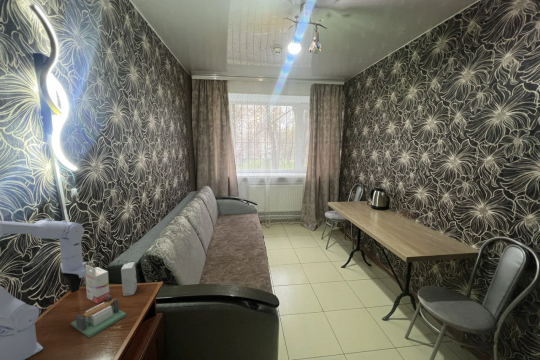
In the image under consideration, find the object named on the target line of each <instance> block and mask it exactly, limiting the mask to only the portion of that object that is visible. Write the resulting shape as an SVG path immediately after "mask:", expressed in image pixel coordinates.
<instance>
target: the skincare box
mask: <svg viewBox="0 0 540 360" xmlns="http://www.w3.org/2000/svg"><path fill="white" fill-rule="evenodd" d="M120 274H121V286H122V297H125V296H127V297H128V296H133V295H135V293H136V291H137V288H138V283H137V282H138V281H137V271H136V262H135V261H133V262H125V263H124V264H122V267H121V269H120Z"/></svg>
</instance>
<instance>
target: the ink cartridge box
mask: <svg viewBox="0 0 540 360" xmlns="http://www.w3.org/2000/svg"><path fill="white" fill-rule="evenodd" d="M84 268H85V270H86V273H87V276H84V277H85V287H86V288H85V289H86V298H87V299H88V300H90V301H92V302H94V303H95V304H97V305H99V304H101V302H102V303H103V302H105V301H107V296H109V295H111V294H110V283H109V271H108V270H105V269H103V268H100V267H98V266H96V267H92V266H90V265H88V264H87V265H84Z"/></svg>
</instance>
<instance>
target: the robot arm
mask: <svg viewBox="0 0 540 360" xmlns="http://www.w3.org/2000/svg"><path fill="white" fill-rule="evenodd" d="M84 233H85V228H84V227H83V225H82V224H80V223H79V222H72V221H67V220H66V219H65V220H61V221H59V220H53V219H52V218H44V219H39V220H38V221H36V222H34V223H29V222H20V221H19V222H17V221H9V220H8V221H6V220H0V236H2V235H3V234H4V235H11V234H13V235H14V234H17V235H22V234H23V235H26V234H27V235H30V234H31V236H32V237H34V238H35V239H54V240H55V239H59V248H60V260H61V262H60V263H59V267H60V269H61V273H62V274H61V277H62V278H63V279H64V281H65V283H66V284H67V287H68V289H69V291H70V293H76V292H77V291H79V290H80V287H81V282H82V279H83V278H84V277H85V276H87V273H86V270H85V265H88V263H87V262H86V261H84V259H83V253H82V252H83V250H82V240H83V237H82V236H84ZM39 315H40V309H39V308H38V307H37V306H35V305H29V304H27V302H25V301H22V300H20V299H18V298H16V297H14V295H12V294H11V293H9V291H7V290H6V289H5V288H4V287H2V286H1V285H0V360H27V359H29V358H30V357H32V356H33V355H36V354H38V353H39V352H41V351H42V350H43V349H44V347H43V346H42V345H41V344H40V343H39V342H38V339H37V333H36V321H37V320H38V319H39V318H38V317H39Z"/></svg>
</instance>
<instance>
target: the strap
mask: <svg viewBox="0 0 540 360" xmlns="http://www.w3.org/2000/svg"><path fill="white" fill-rule="evenodd" d="M114 299H115V298H112V300H110V301H108V302H107V301H106V302H105V303H104V304H102V305H100V306H98V307H96V308H94V309H92V310H90V311H88V312H86V313H85V312H84V313H83V314H82V316H83V317H85V318H88V317H89V316H91V315H93V314H95V313H97V312H99V311H101V310H103V309H105V308H107V307H109V306H110V305H112V304H113V300H114Z"/></svg>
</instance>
